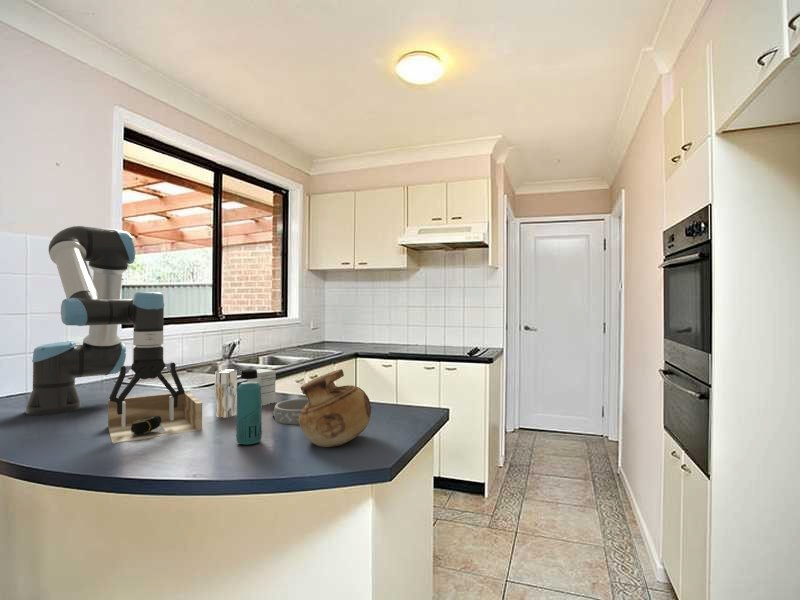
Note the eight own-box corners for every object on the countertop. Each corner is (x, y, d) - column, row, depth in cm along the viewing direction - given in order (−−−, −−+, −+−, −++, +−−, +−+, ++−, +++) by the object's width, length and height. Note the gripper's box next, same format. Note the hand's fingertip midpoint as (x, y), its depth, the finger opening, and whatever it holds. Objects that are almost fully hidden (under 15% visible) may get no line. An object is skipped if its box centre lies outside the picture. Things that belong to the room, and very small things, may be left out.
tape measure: (163, 424, 130) (160, 412, 130) (157, 431, 124) (153, 418, 123) (138, 431, 129) (134, 419, 128) (130, 439, 122) (126, 426, 122)
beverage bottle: (247, 452, 113) (247, 372, 113) (230, 447, 117) (230, 370, 117) (267, 445, 119) (267, 369, 119) (250, 440, 122) (251, 367, 122)
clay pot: (308, 434, 129) (309, 364, 129) (373, 435, 128) (374, 364, 128) (290, 457, 110) (290, 375, 110) (366, 458, 109) (367, 375, 109)
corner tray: (108, 427, 134) (108, 399, 134) (188, 416, 147) (188, 391, 147) (112, 445, 118) (112, 413, 118) (202, 431, 131) (202, 402, 131)
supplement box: (246, 405, 163) (246, 370, 163) (262, 401, 169) (263, 368, 169) (259, 408, 159) (259, 372, 159) (276, 404, 165) (276, 370, 165)
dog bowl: (278, 431, 133) (278, 412, 133) (269, 416, 149) (269, 400, 149) (334, 424, 140) (334, 407, 140) (319, 411, 156) (319, 395, 156)
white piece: (209, 418, 145) (209, 371, 145) (225, 413, 152) (225, 368, 152) (226, 420, 142) (226, 373, 142) (241, 415, 149) (242, 370, 149)
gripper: (99, 349, 119) (98, 432, 119) (195, 344, 133) (195, 419, 133) (98, 347, 125) (97, 425, 125) (190, 342, 139) (190, 413, 139)
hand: (148, 422), depth 129 cm, fingers open, 11 cm apart
